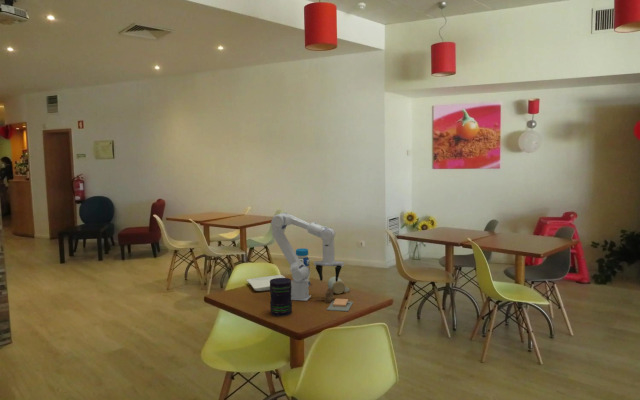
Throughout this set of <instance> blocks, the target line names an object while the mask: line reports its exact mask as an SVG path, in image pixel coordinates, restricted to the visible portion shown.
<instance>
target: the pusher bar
mask: <svg viewBox="0 0 640 400" xmlns="http://www.w3.org/2000/svg"><path fill="white" fill-rule="evenodd" d="M324 297H325V303H326V304H331V303H332V301H333V300H334V292H333V289H329V288H327V290H326V291H325V296H324Z"/></svg>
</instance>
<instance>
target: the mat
mask: <svg viewBox="0 0 640 400" xmlns="http://www.w3.org/2000/svg"><path fill="white" fill-rule="evenodd" d="M334 301H335V299H333V300H332V301H331V303H329V306H328V307H327V308H326V311H330V312H331V311H332V312H349V311H350V310H351V307H352V306H353V303H354V301H351V300H350V301H349V300H348V302H347V305H346V307H333V303H334Z"/></svg>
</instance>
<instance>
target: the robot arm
mask: <svg viewBox="0 0 640 400" xmlns="http://www.w3.org/2000/svg"><path fill="white" fill-rule="evenodd" d="M270 224H271V232H272V236H273V238H274V240H275V242H276V244H277V245H278V247H279V248H280V250H281V252H282V254H283V255H284V257H285V259H286V261H287V262H288V264H289V270H290V272H291V278H292V279H293V280H291V286H292V288H291V290H292V291H291V300H292V301H306V302H307V301H308V300H309V299H310V298H311V296H312V295H311V294H310V295H309V290H310V289H309V286H308V276H309V274H310V275H311V271H309V268H308V267H306V266H305V265H304V263H303V262H301V261H300V260H299V258H298V257H297V255H296V250H294V248H293V246H292V244H291V242H290V240H289V239H288V237H287V236H286V234H285V231H286V228H287V226H290V225H293V226H296V227H300V228H302V229H305V230H307V232H308V233H309V234H310V235H313V236H316V237H317V238H320V239H321V240H322V260H315V261H314V262H313V266H314V267H315V270H316V272H317V274H318V276H319V280H320V281H321V282H322V281H323V279H324V278H323V267H335V268H334V269H335V276H336V281H338V278H339V275H340V272H341V270H342V268H343V267H344V266H345V264H344V261H335V258H336V257H335V236H336V231H335V230H334V229H333V228H332V227H327V226H326V225H324V226H323V225H321V224H319V223H318V222H317V221H312V222H307V221H305V220H303V219H301V218H299V217H296V216H295V215H292V214H290V213H287V212H282V213H279V214H275V215H273V217H272V219H271V221H270Z"/></svg>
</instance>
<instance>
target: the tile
mask: <svg viewBox="0 0 640 400" xmlns="http://www.w3.org/2000/svg"><path fill="white" fill-rule="evenodd" d="M348 301H349V299H348V298H335V299H334V303H333V307H346V305H347V302H348Z"/></svg>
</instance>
